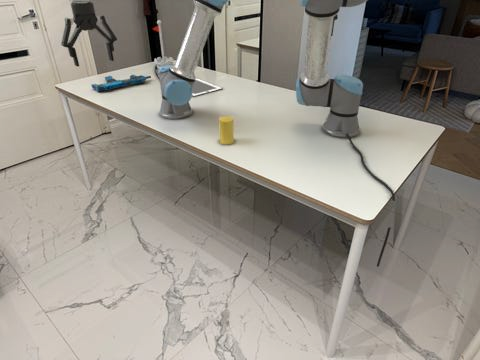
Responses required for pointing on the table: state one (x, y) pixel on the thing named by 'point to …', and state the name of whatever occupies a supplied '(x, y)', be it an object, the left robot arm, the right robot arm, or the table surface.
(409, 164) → the table surface
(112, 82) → the submachine gun
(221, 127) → the cylinder
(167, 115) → the left robot arm
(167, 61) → the flag stand
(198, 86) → the tablet
